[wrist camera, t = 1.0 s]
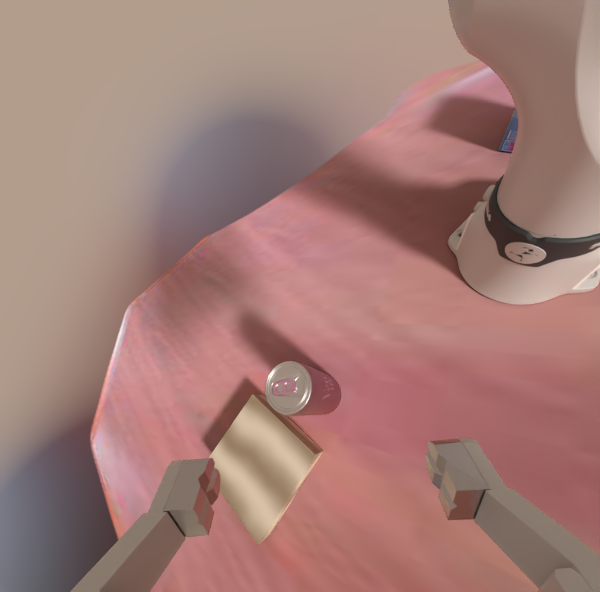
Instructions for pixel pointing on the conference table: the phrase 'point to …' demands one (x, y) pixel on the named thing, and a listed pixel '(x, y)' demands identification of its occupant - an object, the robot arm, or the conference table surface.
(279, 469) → the ash base block
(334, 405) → the beverage can
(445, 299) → the conference table surface
